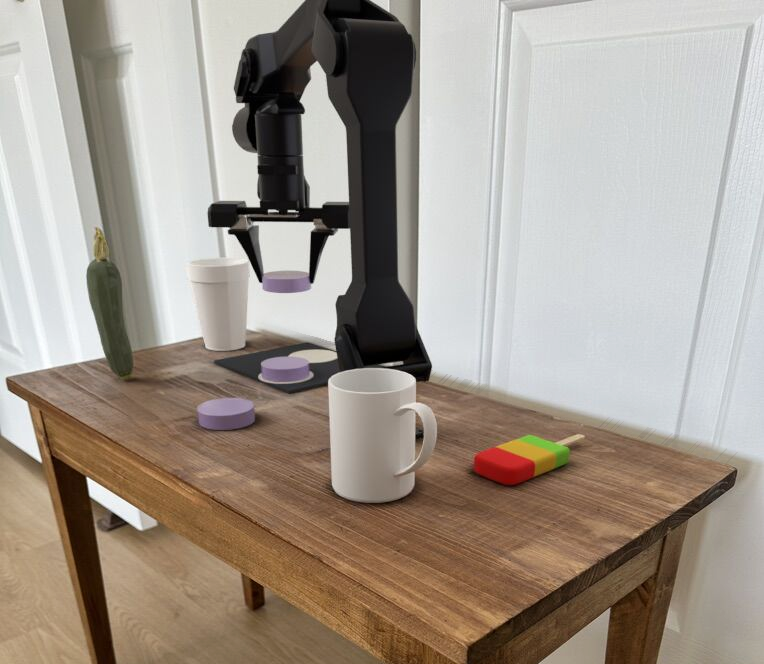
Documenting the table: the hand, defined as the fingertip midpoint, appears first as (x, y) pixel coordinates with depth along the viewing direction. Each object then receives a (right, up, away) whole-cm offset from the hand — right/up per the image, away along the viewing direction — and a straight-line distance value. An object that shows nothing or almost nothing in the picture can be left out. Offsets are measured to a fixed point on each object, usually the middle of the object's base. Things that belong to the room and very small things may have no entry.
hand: (287, 282), depth 103 cm
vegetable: (-23, -13, +2) cm, 27 cm away
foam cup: (-12, -5, +20) cm, 24 cm away
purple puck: (0, -1, 0) cm, 1 cm away
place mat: (+1, -10, +8) cm, 13 cm away
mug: (+13, -29, -31) cm, 45 cm away
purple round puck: (0, -12, +2) cm, 12 cm away
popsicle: (+29, -26, -24) cm, 46 cm away
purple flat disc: (-5, -20, -13) cm, 25 cm away
